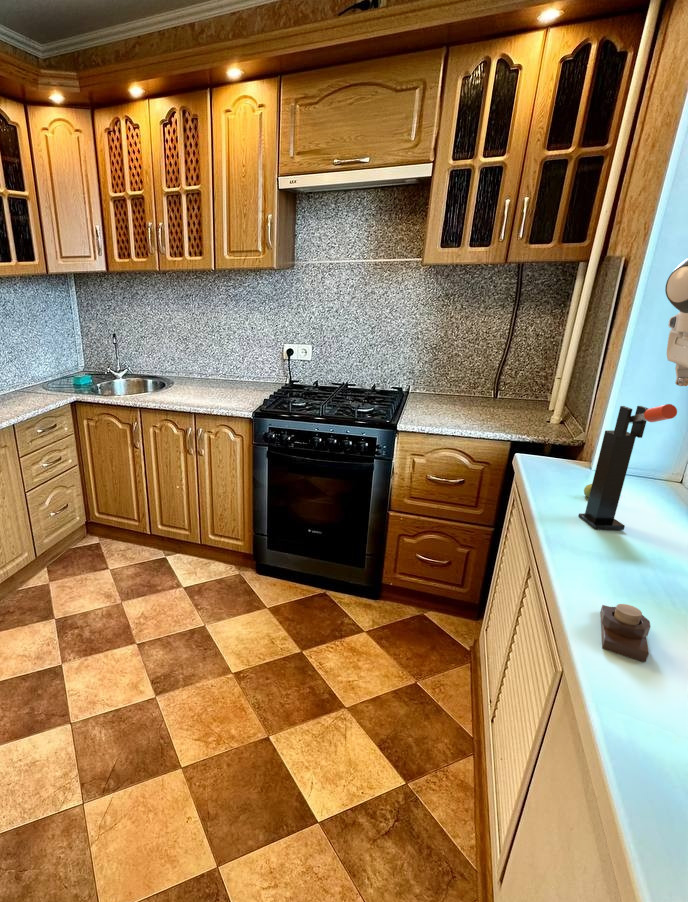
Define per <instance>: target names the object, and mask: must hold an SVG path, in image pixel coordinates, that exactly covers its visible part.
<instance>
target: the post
mask: <svg viewBox="0 0 688 902" xmlns="http://www.w3.org/2000/svg"><path fill="white" fill-rule="evenodd" d="M647 409H649V408H648V407H645V406H643V405H637V406H636V410H635V412H634V415H638V414H642V413H645V411H646V410H647ZM632 412H633V408H631V407H628V406H625V405H620V406H619V410H618V414H617V418H616V422H615V426H614V430H611V429H610V430H604V433H603V438H602V442H601V446H600V447H601V448H600V450H599V455H598V459H597V463H596V467H595V471H594V475H593V478H592V483H591V484H592V487H591V491H590V495H589V498H587V499H588V500H587V504H586V508H585V511H584V513H578V518H579V519H581V520H582V521H583V522H585V523H586V524H587V525H588V526H589V527H591V529H593V530H596V531H604V530H605V531H609V530H610V531H624V530H625V526H626V525H625V524H623V523H622V522H620V521H619V520H617V519H615V517H616V513H617V510H618V506H619V502H620V498H621V494H622V490H623V487H624V483H625V481H626V480H625V479H626V476H627V472H628V469H629V464H630V461H631V457H632V453H633V449H634V447H635V442H636V438H638V439H643V436H644V432H645V429H646V426H647V425H646V424H647V422H648V421H647V420H646V421H642V422H637V423H632V424H631V428H630V432H629V431H628V430H629V429H628V428H629V425H630V424H629V421H630V417H631V416H632Z"/></svg>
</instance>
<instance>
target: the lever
mask: <svg viewBox="0 0 688 902" xmlns="http://www.w3.org/2000/svg"><path fill="white" fill-rule="evenodd" d="M677 415H678V409H677V406H675V405H674V404H672V403H666V404H662V405H658V406H654V407H650V408H649V409H647V410H646V411H645V413H642V414H638V415H635V414H634V415H631V417H630V421H629V425H633V423H637V422H642V421H646V420H647V421H646V422H649V423H657V422H662V421H666V420H672V419H674V418H676V416H677Z"/></svg>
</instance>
